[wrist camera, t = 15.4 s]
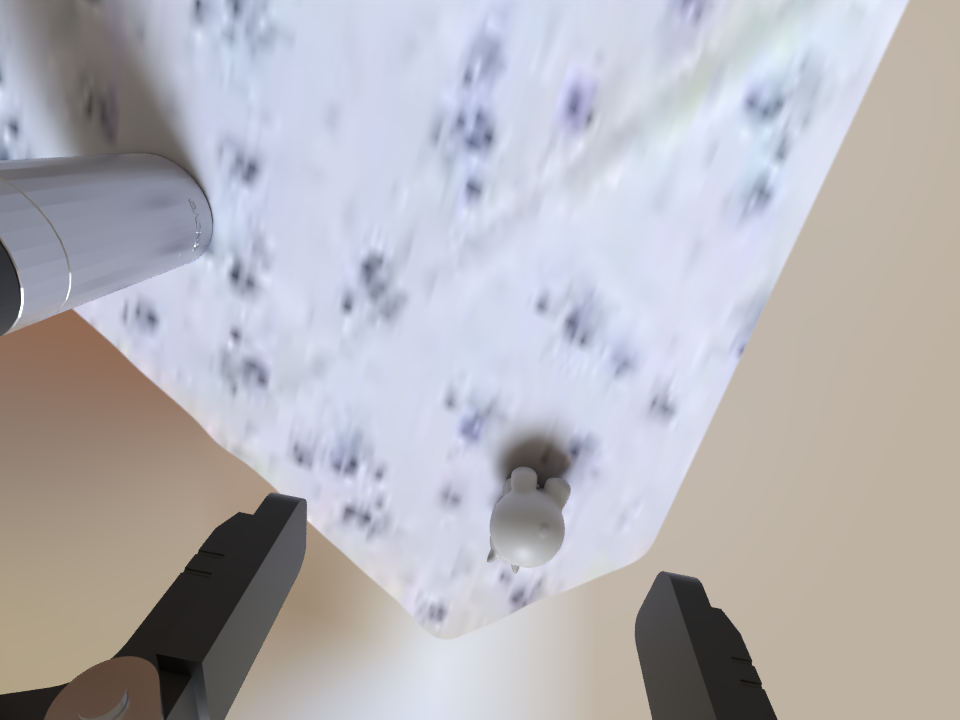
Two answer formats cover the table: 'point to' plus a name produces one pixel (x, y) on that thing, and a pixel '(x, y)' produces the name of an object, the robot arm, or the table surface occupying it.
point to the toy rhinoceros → (528, 520)
